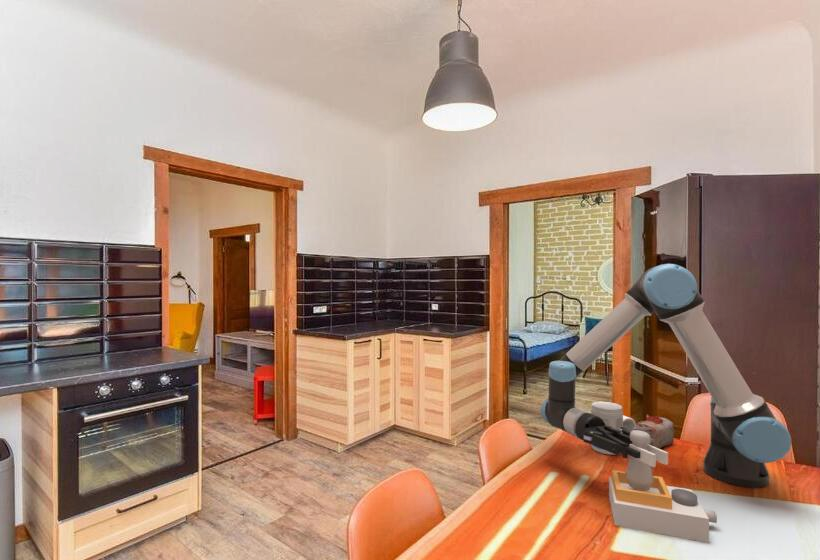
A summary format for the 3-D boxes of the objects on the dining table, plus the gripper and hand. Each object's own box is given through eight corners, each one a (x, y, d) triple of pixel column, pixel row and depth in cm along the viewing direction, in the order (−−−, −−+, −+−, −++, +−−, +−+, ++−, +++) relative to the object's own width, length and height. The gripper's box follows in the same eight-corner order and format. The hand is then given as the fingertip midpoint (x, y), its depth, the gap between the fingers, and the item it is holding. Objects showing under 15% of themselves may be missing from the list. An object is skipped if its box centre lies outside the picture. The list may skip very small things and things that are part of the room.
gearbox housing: (705, 512, 103) (706, 481, 103) (725, 546, 90) (726, 509, 90) (609, 496, 110) (609, 467, 110) (614, 525, 97) (614, 491, 97)
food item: (655, 453, 139) (655, 422, 139) (631, 445, 146) (631, 416, 146) (676, 445, 147) (676, 416, 147) (652, 438, 154) (652, 410, 154)
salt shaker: (650, 484, 103) (651, 429, 104) (655, 495, 98) (656, 437, 98) (623, 479, 105) (624, 426, 105) (627, 490, 100) (628, 434, 100)
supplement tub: (613, 444, 146) (613, 401, 147) (629, 455, 137) (629, 409, 137) (585, 444, 146) (585, 401, 146) (599, 456, 136) (600, 409, 136)
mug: (614, 430, 161) (614, 408, 161) (636, 439, 152) (636, 416, 152) (588, 433, 157) (588, 411, 157) (609, 443, 148) (609, 419, 148)
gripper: (607, 436, 121) (686, 471, 99) (560, 442, 116) (632, 481, 94) (608, 409, 121) (686, 439, 99) (561, 414, 116) (633, 446, 94)
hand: (660, 459), depth 97 cm, fingers closed on salt shaker, 3 cm apart
